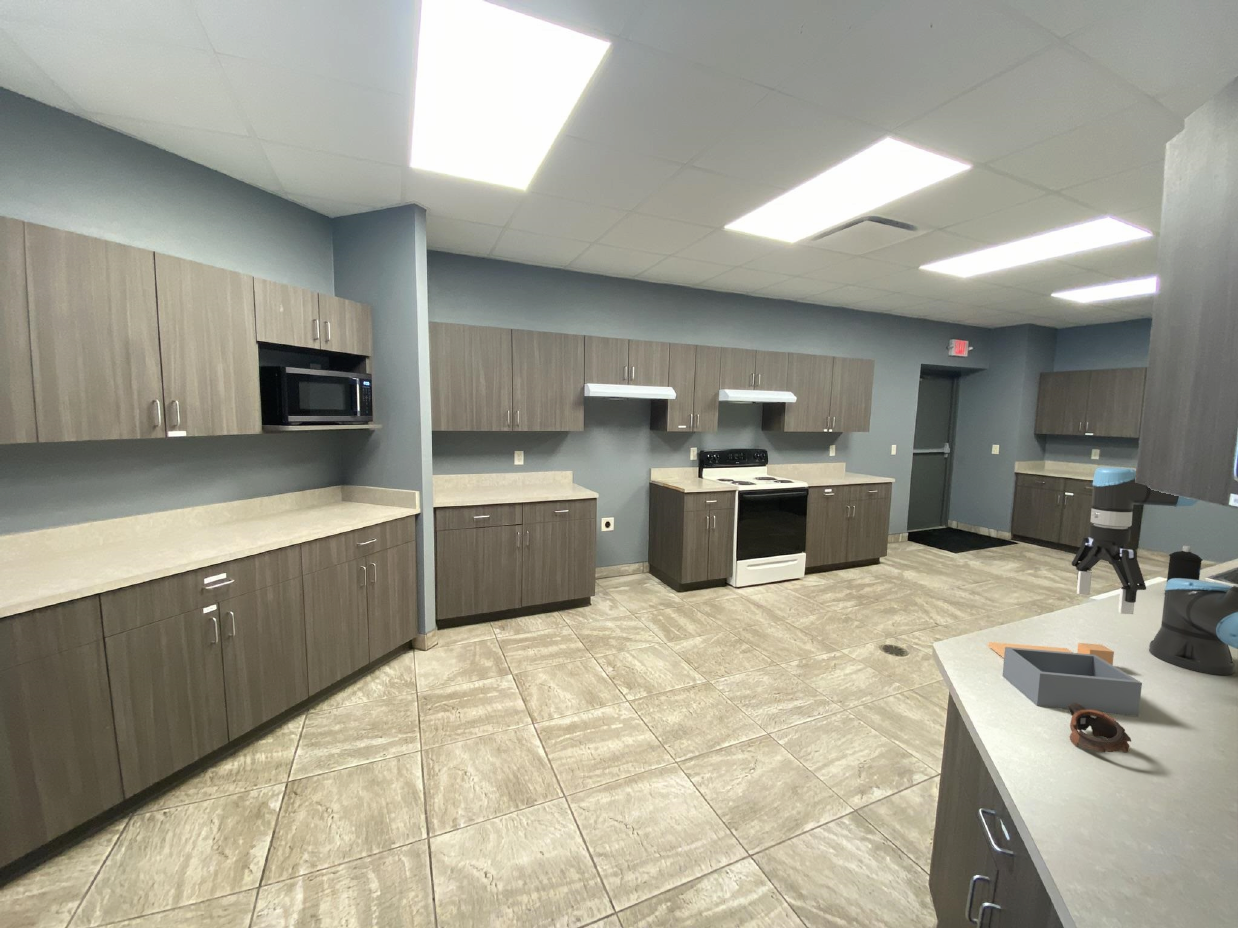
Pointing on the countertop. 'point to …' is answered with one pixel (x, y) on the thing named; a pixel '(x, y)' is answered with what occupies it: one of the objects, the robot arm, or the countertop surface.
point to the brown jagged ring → (1097, 730)
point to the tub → (1071, 681)
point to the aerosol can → (1184, 565)
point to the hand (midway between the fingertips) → (1103, 603)
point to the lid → (1060, 649)
